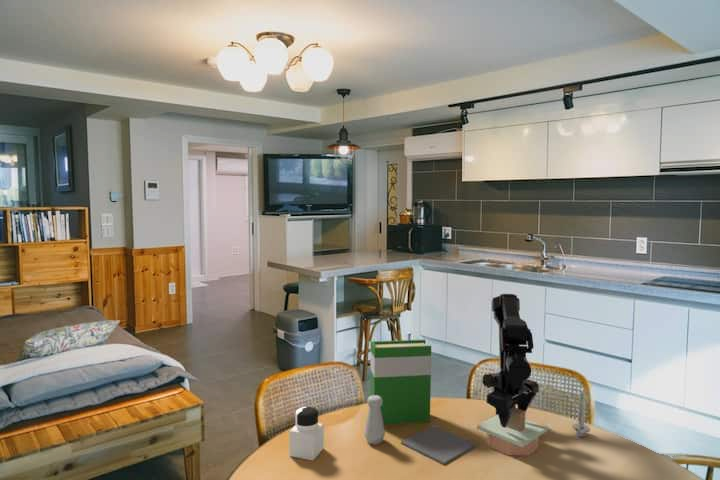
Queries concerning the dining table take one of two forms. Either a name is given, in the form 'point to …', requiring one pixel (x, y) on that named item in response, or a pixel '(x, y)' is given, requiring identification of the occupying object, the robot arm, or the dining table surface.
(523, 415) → the lid
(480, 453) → the dining table surface
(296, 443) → the medicine bottle
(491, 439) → the bowl
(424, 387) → the hardback book
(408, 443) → the mat
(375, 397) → the salt shaker
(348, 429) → the dining table surface
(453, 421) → the dining table surface
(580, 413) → the screw
